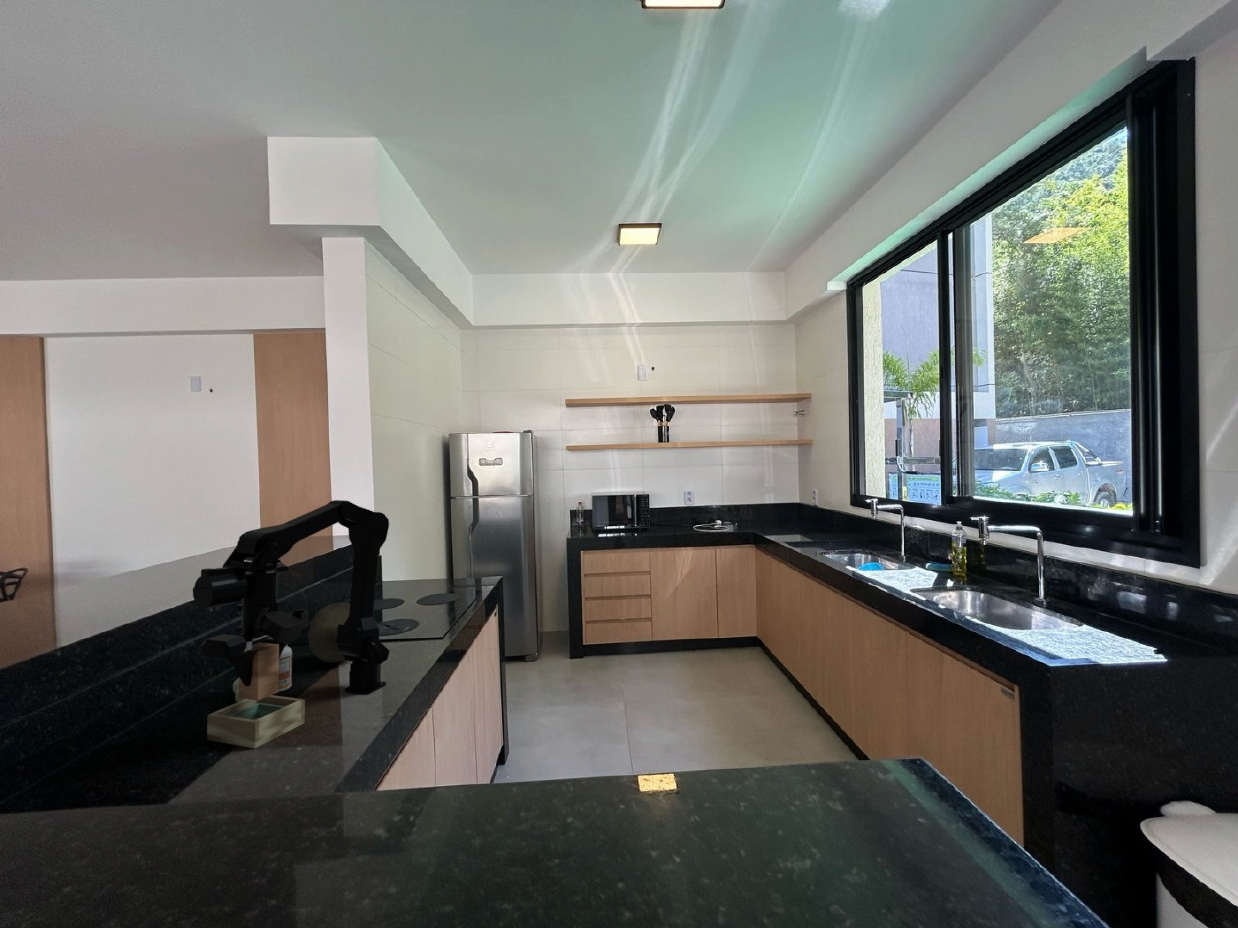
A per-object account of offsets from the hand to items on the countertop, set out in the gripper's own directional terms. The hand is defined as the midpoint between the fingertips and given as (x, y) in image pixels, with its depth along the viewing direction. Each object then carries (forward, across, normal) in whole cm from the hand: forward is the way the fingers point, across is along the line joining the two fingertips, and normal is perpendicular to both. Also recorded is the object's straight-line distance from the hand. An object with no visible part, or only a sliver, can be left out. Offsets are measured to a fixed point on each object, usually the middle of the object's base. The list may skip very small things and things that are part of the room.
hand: (258, 681), depth 111 cm
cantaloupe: (+10, +37, +15) cm, 41 cm away
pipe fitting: (+10, +12, +16) cm, 23 cm away
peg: (+2, 0, 0) cm, 3 cm away
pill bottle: (+10, +18, +15) cm, 25 cm away
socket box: (+9, 0, 0) cm, 9 cm away
